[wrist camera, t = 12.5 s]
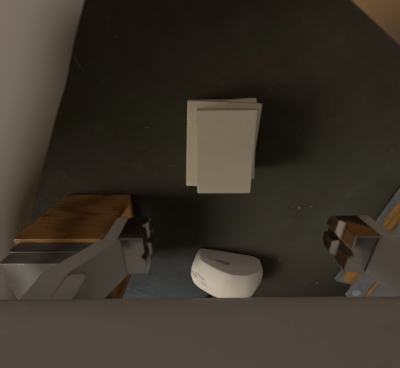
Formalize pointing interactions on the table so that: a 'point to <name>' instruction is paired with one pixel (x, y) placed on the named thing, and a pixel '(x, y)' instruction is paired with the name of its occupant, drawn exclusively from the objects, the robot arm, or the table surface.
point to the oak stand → (64, 238)
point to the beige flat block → (225, 149)
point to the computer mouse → (226, 273)
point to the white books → (191, 129)
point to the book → (360, 282)
